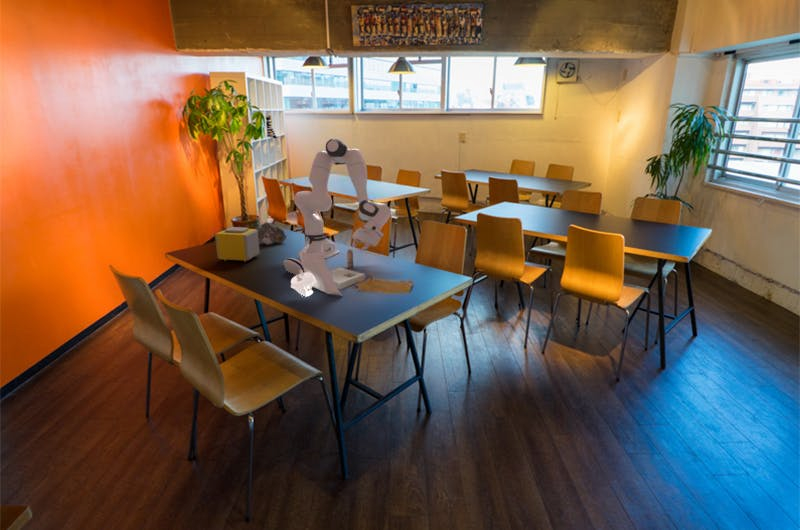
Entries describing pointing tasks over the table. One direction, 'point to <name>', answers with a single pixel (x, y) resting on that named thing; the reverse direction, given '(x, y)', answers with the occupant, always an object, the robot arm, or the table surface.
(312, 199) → the robot arm
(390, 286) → the leather hide
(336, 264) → the table surface
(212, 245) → the table surface
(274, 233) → the rock
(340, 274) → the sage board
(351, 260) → the beech dowel
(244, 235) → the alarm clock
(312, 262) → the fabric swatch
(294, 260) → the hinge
